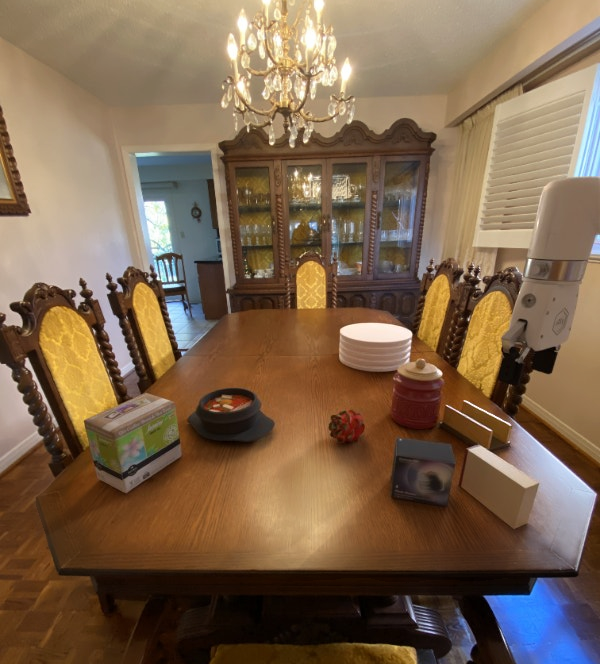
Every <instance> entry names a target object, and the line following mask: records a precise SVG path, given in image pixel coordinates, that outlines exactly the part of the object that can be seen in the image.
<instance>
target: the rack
mask: <svg viewBox="0 0 600 664" xmlns="http://www.w3.org/2000/svg"><path fill="white" fill-rule="evenodd" d="M438 426H439V427H441V428H442V429H443V430H445V431H447V432H448V433H449V434H451V435H452V436H454V437H456V438H457V439H459V440H460V441H462V442H463V443H465V444H467V445H468V446H469V447H473V446H476V445H481V446H482V447H484V448H485V449H487V450H489V451H490V452H492V453H493V452H494V451H498V450H500V449H501V450H502V449H505V448H507V447H509V446H511V444H512V443H511V441H510V438H511V437H510V436H511V433H512V430H513V429H512V428H513V424H511V423H510V422H508V421H505V420H503V419H502V418H500V417H498V416H496V415H494V414H492V413H491V412H489V411H487V410H485V409H483V408H481V407H479V406H477V405H476V404H473V403H471V402H469V401H468V400H462V406H461V409H460V411H459V410H457V409H455V408H454V407H452V406H450V405H449V404H445V405H444V411H443V417H442V421H441V422H439V425H438Z"/></svg>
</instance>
